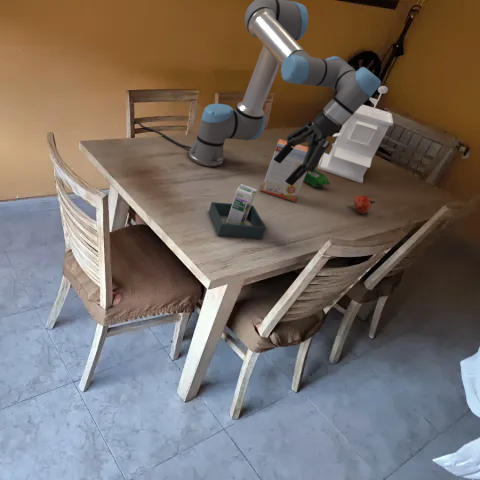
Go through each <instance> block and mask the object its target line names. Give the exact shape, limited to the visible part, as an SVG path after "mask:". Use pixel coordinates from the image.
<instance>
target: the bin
mask: <svg viewBox="0 0 480 480" xmlns="http://www.w3.org/2000/svg"><path fill="white" fill-rule="evenodd" d="M209 206H210V207H209V210H208V215H209V218H210V219H211V222H212V224H213V227H214V229H215V232H216V234H217V236H218V237H231V238H233V237H234V238H244V239H260V240H261V239H263V237H264V234H265V232H266V230H267V227H266V224H264V221H263V220H262V218H261V216H260V214H259V213H258V211H257V209H256V208H255V206H254V205H251V208H250V210H249V213H248V216H247V218H248V219H249V221H250V223H251V225H247V224H244V225H237V224H226V223H224V222H223V220H222V217H221V216H228V215H229V212H230V209H231V206H232V203H227V202H215V201H211V202H210V205H209Z"/></svg>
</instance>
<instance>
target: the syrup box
mask: <svg viewBox="0 0 480 480" xmlns="http://www.w3.org/2000/svg"><path fill="white" fill-rule="evenodd" d="M257 191H258V189H257V188H253V187H251V186H248V185H245V184H243V183H240V185H239V186H238V188H237V189H236V191H235V194H234V197H233V199H232V203H231V204H232V206H231V209H230V212H229V215H227V219H226V221H225V224H237V225H246V221H247V218H248V217H247V216H248V213H249V210H250V208H251V206H253V202H254V200H255V196H256V194H257Z"/></svg>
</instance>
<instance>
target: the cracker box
mask: <svg viewBox="0 0 480 480" xmlns="http://www.w3.org/2000/svg"><path fill="white" fill-rule="evenodd" d="M287 141H288V140H285V139H281V138H279V139H278V141H277V144H276V147H275V149H274V153H273V154H272V157H271V160H270V163H269V166H268V168H267V171H266V174H265V178H264V179H263V182H262V185H261V189H260V192H262V193H266V194H269V195H273V196H275V197H278V198H281V199H285V200H287V201H290V202H295V201H296V199H297V197H298V194H299V191H300V189H301V187H302V185H303V183H304V178H305V175H306V173H307V172H306V173H305V174H304V175H303V176H302V177H301V178H299V179H298V180H297V181H296V182H295V183H294V184H293V185H292V186H291V185H290V184H288V183H286V182H285V180H286V179H287V178H288V177H289V176H290V175H291V174H292V173H293V172H294V171H295V170H296V169H297V167H298V166H299V165H301V164H303V161H304V159H305V156H306V154H307V151H308V148H309V147H308V146H304V145H301V144H299V145H296V146H295V148H294V147H293V150H292V151H291V152H290V153H289V154H288V155H287V157H286V158H285V159H284V160H283V161H282V162H281V163H280V164H279V163H278V162H276V161H275V160H274V158H275V157H276V156H277V154H278V153H279V152H280V151H281V150H282V148H283V147H284V146H285V145H286V144H287ZM306 165H307V164H306Z"/></svg>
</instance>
